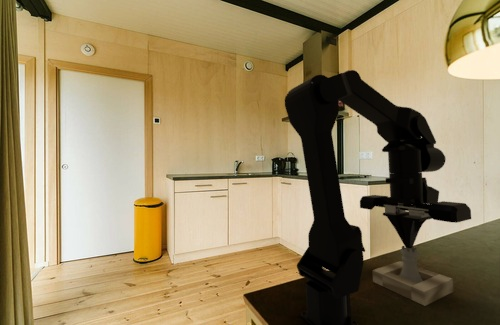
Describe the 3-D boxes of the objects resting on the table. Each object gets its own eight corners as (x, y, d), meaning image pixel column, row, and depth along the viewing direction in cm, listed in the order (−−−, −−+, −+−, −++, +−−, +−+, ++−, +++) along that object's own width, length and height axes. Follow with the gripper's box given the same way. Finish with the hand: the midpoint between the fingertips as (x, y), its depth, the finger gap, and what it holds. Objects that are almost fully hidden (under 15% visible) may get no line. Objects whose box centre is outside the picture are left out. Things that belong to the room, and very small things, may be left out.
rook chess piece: (412, 294, 44) (410, 252, 44) (393, 283, 48) (391, 245, 49) (430, 290, 45) (428, 250, 45) (409, 280, 49) (407, 243, 50)
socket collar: (425, 306, 40) (424, 291, 40) (373, 281, 49) (372, 270, 49) (453, 291, 44) (452, 278, 44) (400, 271, 53) (400, 261, 53)
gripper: (482, 171, 43) (487, 255, 42) (386, 172, 59) (389, 231, 59) (452, 173, 38) (458, 267, 37) (356, 173, 55) (359, 238, 54)
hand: (409, 247), depth 47 cm, fingers closed, pressing on rook chess piece
